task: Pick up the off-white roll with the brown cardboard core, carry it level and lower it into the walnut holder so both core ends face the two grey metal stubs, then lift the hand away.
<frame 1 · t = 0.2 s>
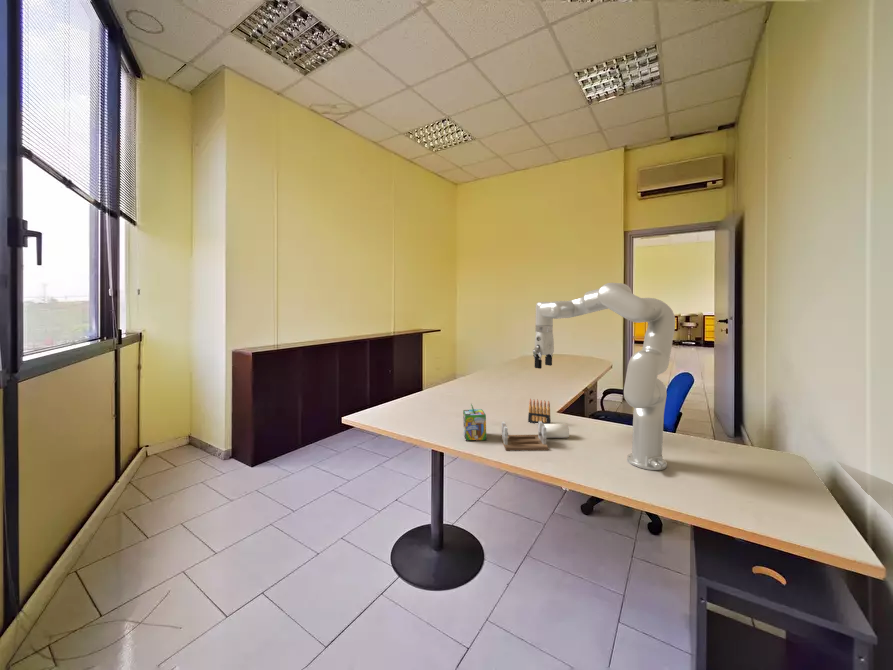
hand: (543, 366, 159), 30 cm above the table, tool pointing down, fingers open, 9 cm apart
ammunition clip: (539, 423, 172), on the table
holder: (523, 443, 147), on the table
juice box: (474, 437, 155), on the table
roll: (554, 437, 154), on the table
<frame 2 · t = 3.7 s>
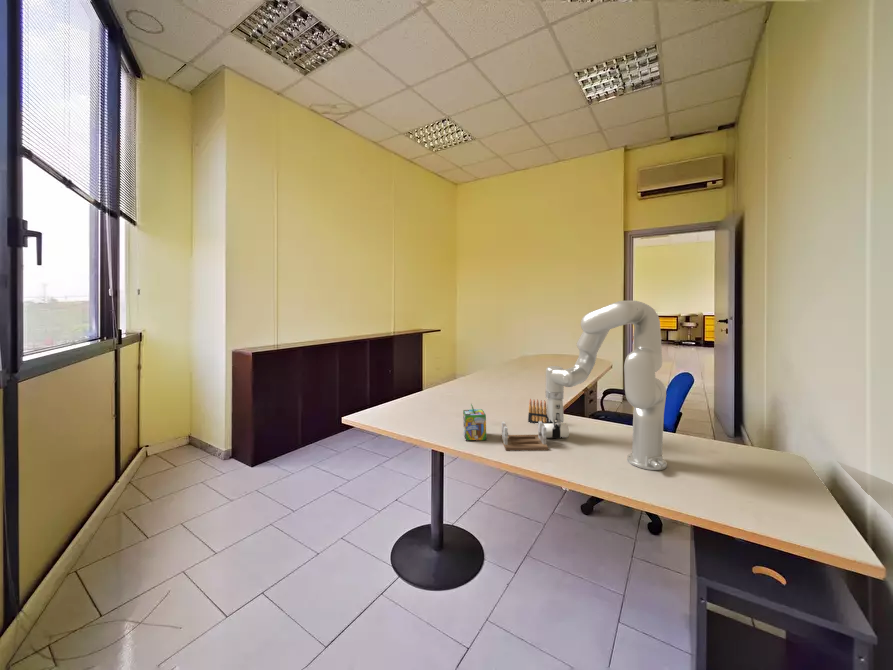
hand: (553, 434, 154), 1 cm above the table, tool pointing down, fingers closed on roll, 6 cm apart
roll: (554, 437, 154), on the table, touching gripper
everything else where it was.
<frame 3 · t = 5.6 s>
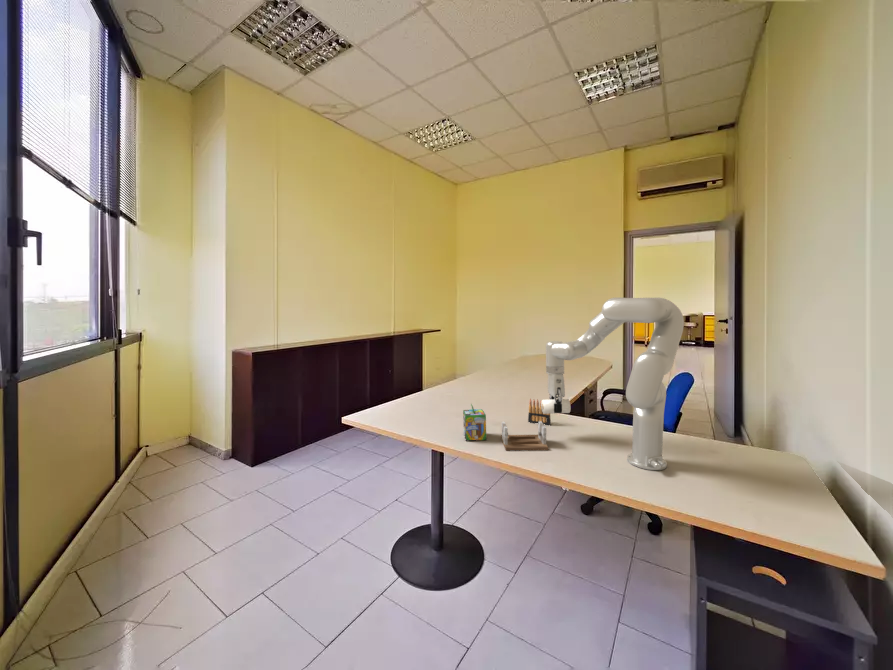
hand: (555, 410, 153), 12 cm above the table, tool pointing down, fingers closed on roll, 6 cm apart
roll: (555, 413, 153), point 11 cm above the table, touching gripper
everything else where it was.
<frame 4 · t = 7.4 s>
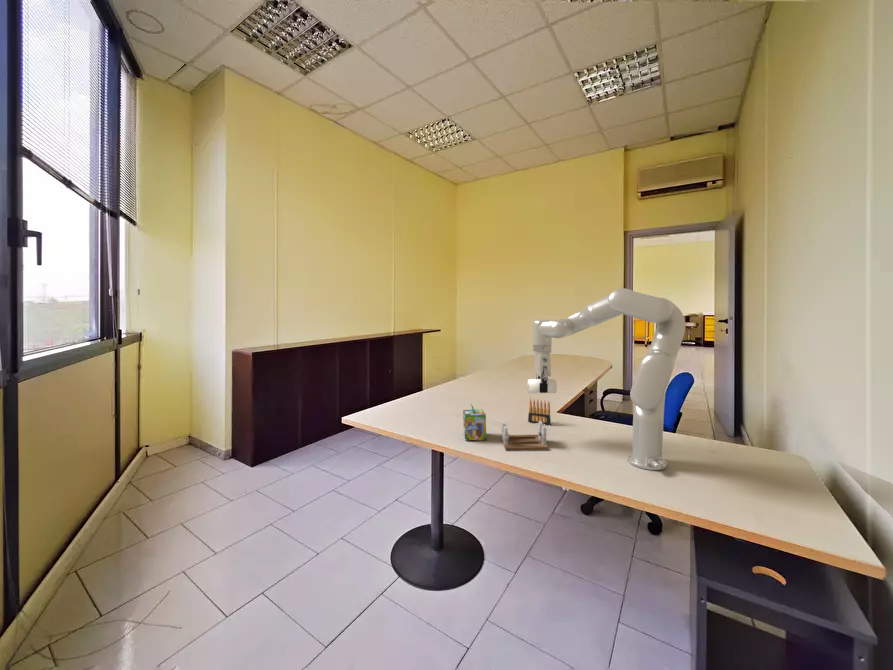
hand: (541, 390, 149), 22 cm above the table, tool pointing down, fingers closed on roll, 6 cm apart
roll: (541, 392, 150), point 21 cm above the table, touching gripper
everything else where it was.
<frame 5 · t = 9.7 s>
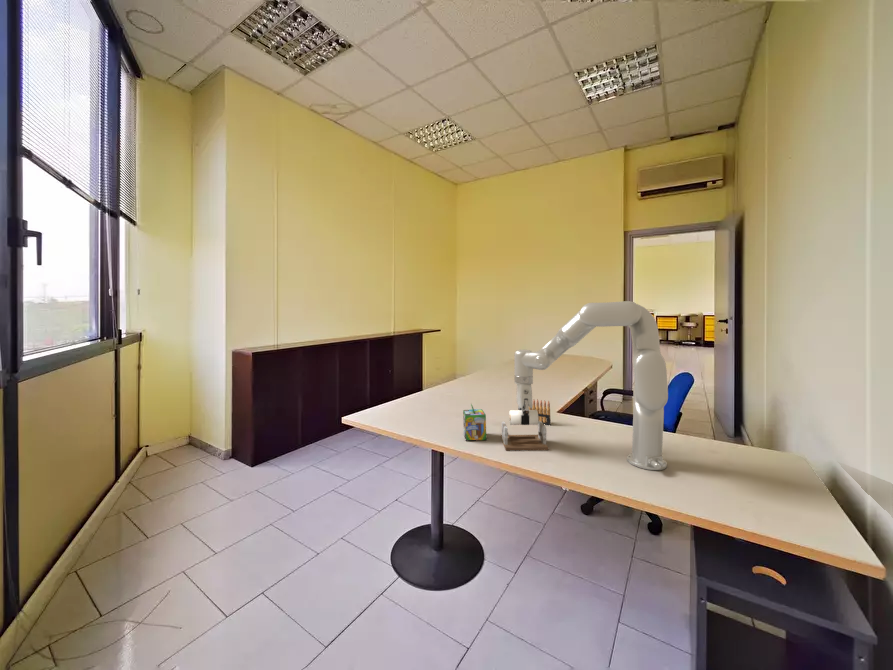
hand: (523, 421, 146), 10 cm above the table, tool pointing down, fingers closed on roll, 6 cm apart
roll: (523, 424, 147), point 8 cm above the table, touching gripper
everything else where it was.
when the fingers open (3 cm above the table, at t = 11.5 s): roll drops 1 cm, resting on holder.
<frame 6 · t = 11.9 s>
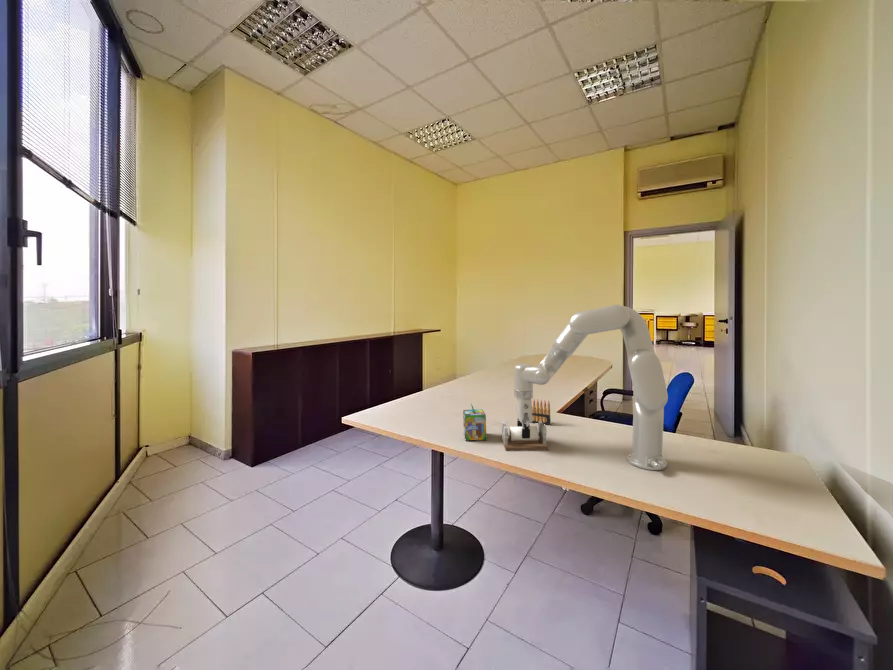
hand: (523, 433, 147), 4 cm above the table, tool pointing down, fingers open, 9 cm apart
roll: (523, 440, 147), point 1 cm above the table, touching holder
everything else where it was.
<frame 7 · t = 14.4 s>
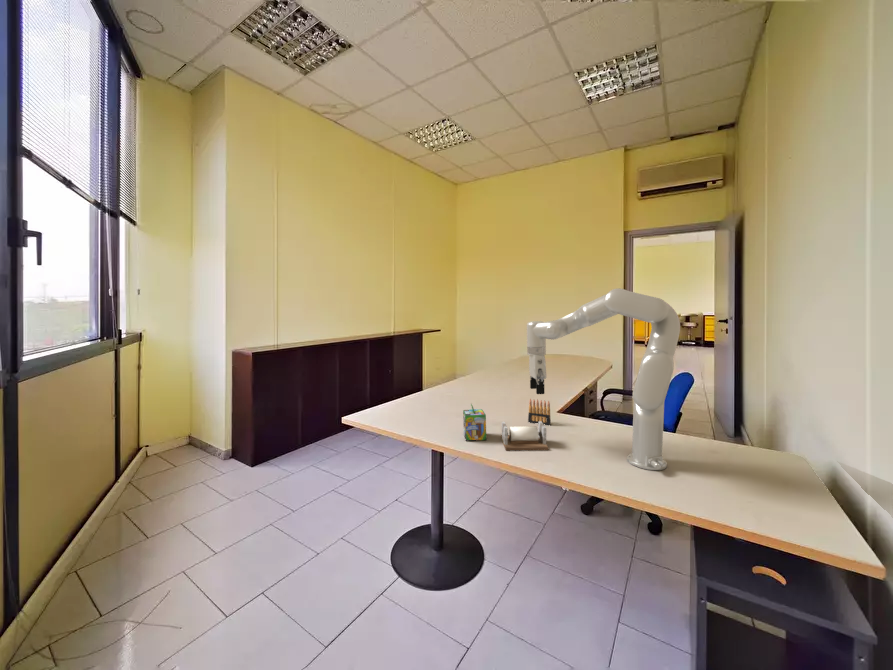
hand: (537, 391, 147), 22 cm above the table, tool pointing down, fingers open, 9 cm apart
nothing on the table moved.
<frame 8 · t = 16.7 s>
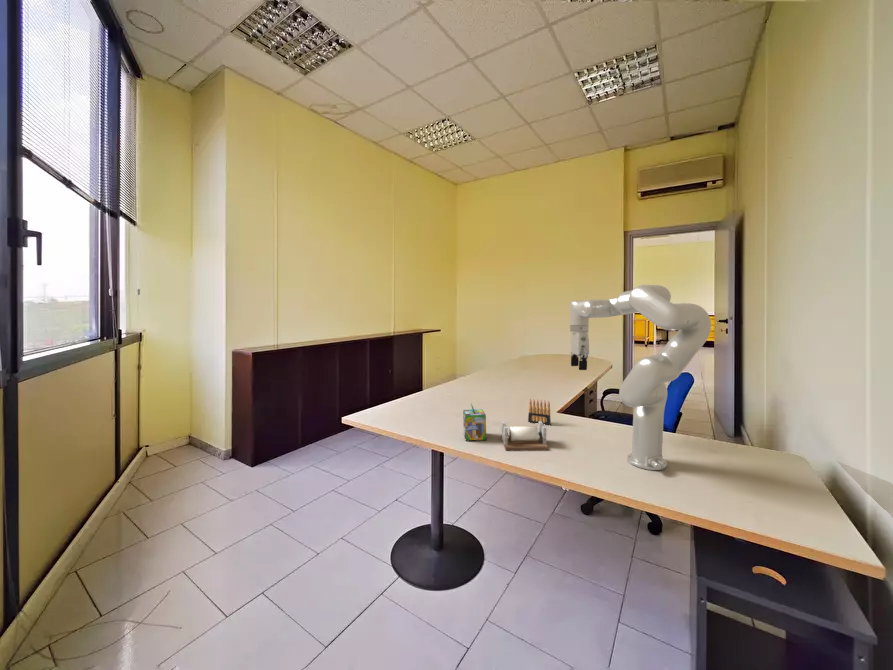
hand: (578, 367, 153), 30 cm above the table, tool pointing down, fingers open, 9 cm apart
nothing on the table moved.
at the end: roll 0.1 cm off-centre on the holder, point 1.2 cm above the holder's base; roll touching holder; the gripper is holding nothing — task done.
